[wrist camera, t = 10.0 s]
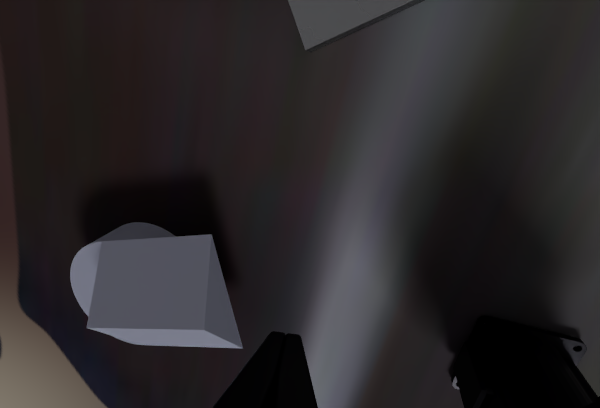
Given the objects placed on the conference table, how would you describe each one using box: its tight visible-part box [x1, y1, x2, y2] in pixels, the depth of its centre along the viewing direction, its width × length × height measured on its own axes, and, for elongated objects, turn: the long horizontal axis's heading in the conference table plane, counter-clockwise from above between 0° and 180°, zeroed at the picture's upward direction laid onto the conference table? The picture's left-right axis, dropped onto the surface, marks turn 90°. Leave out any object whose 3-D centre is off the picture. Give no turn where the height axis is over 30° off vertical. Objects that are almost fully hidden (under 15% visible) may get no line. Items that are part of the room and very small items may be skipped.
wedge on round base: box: [70, 222, 243, 348], centre depth 24 cm, size 9×7×13 cm
